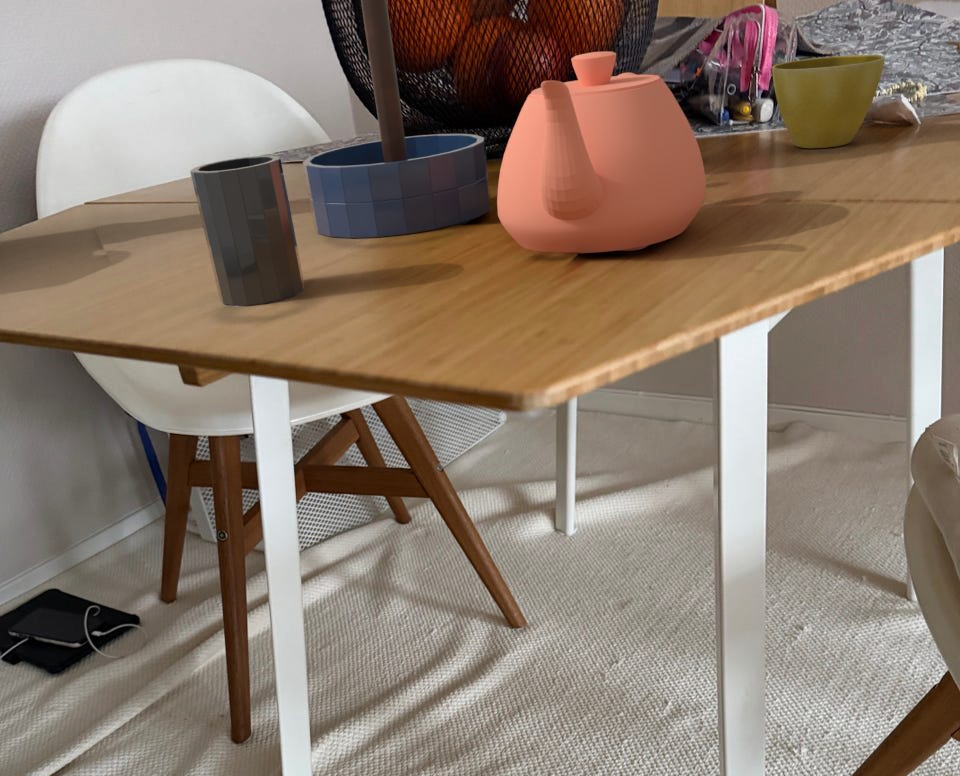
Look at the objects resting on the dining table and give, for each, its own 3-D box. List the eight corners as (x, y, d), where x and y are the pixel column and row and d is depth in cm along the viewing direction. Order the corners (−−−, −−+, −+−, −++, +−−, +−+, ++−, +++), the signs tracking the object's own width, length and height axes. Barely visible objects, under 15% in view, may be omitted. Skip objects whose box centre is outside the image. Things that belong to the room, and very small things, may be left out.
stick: (388, 220, 94) (348, -54, 83) (398, 214, 95) (360, -55, 85) (409, 219, 93) (371, -57, 83) (418, 214, 95) (383, -58, 84)
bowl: (285, 248, 91) (270, 171, 88) (363, 209, 103) (353, 140, 100) (452, 242, 86) (442, 160, 83) (515, 202, 98) (508, 129, 95)
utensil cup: (206, 315, 75) (173, 174, 70) (250, 291, 79) (221, 158, 74) (280, 314, 73) (250, 169, 68) (320, 290, 77) (295, 153, 72)
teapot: (672, 279, 69) (668, 62, 63) (452, 284, 74) (428, 84, 68) (727, 205, 86) (728, 28, 80) (545, 213, 92) (533, 48, 85)
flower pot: (869, 131, 109) (875, 50, 105) (887, 147, 101) (894, 59, 97) (765, 141, 111) (768, 62, 107) (774, 157, 102) (777, 72, 99)
